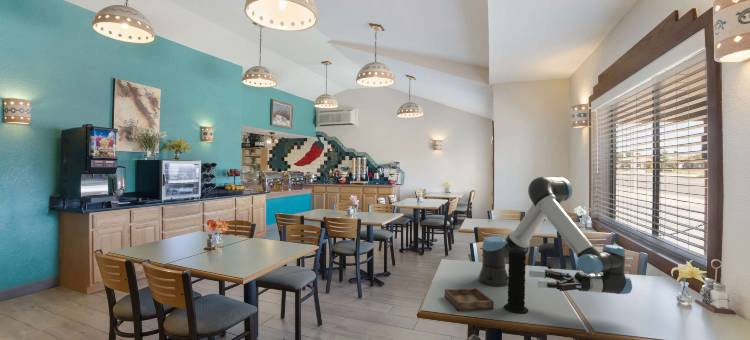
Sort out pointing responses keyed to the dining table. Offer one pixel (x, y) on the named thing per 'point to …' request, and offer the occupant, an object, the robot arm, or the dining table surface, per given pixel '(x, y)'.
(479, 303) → the tray
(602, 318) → the dining table surface
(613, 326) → the dining table surface
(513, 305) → the handle grip
